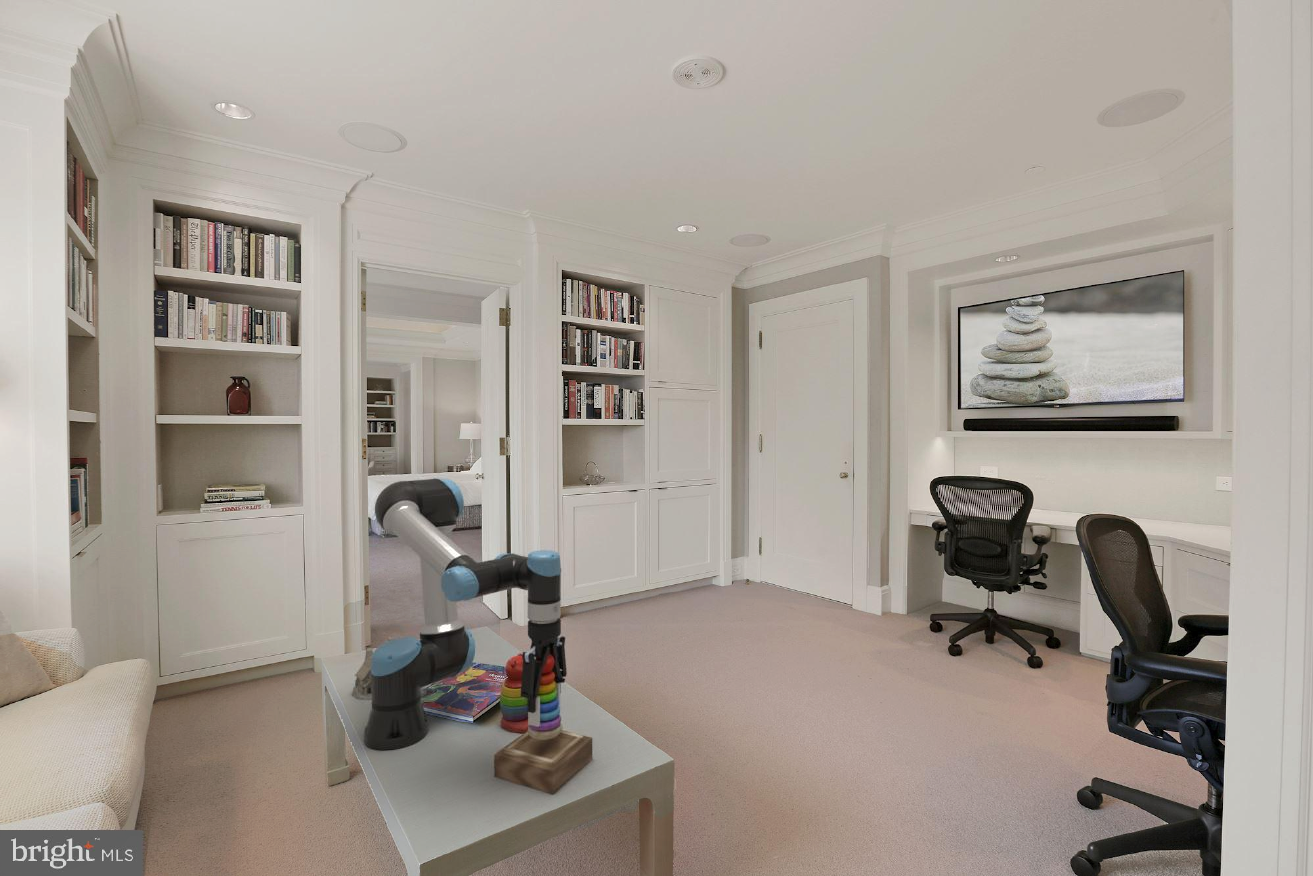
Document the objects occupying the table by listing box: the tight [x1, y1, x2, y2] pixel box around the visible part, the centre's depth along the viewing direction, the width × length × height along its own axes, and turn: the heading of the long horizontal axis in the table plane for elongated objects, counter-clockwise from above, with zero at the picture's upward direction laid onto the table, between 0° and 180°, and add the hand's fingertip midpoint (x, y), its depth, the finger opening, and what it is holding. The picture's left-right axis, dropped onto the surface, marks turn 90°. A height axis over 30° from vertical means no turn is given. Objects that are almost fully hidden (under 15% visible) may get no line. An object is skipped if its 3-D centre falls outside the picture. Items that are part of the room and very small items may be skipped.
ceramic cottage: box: [351, 637, 393, 701], centre depth 185 cm, size 16×16×15 cm
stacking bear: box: [499, 652, 529, 734], centre depth 166 cm, size 11×10×18 cm
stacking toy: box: [528, 655, 563, 740], centre depth 144 cm, size 8×8×19 cm
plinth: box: [493, 729, 593, 795], centre depth 144 cm, size 16×16×6 cm
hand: (544, 717), depth 144 cm, fingers closed on stacking toy, 7 cm apart
